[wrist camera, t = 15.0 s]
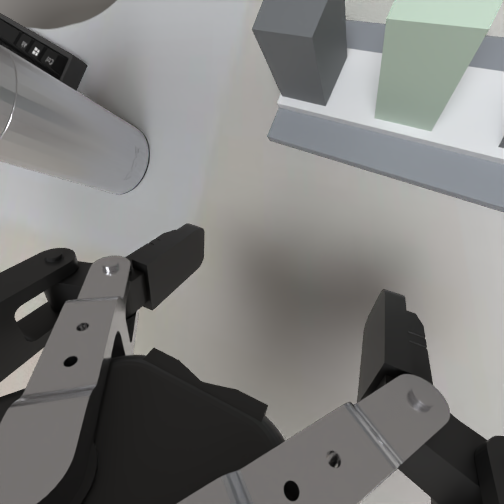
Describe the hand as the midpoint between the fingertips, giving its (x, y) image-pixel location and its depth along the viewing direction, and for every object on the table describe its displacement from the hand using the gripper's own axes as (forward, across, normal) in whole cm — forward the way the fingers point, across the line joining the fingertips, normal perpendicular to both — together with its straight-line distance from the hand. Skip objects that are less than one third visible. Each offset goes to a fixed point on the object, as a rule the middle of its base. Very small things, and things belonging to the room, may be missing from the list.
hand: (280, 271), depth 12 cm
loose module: (+19, -4, -7) cm, 21 cm away
